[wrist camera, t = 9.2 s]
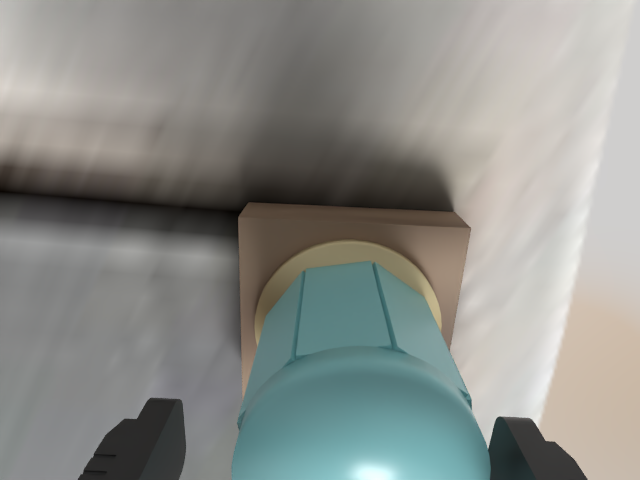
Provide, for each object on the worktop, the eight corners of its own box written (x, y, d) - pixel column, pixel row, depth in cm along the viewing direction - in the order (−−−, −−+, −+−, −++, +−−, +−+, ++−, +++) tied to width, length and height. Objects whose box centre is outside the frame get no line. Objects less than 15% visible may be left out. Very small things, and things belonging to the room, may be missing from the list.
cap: (235, 349, 16) (184, 496, 10) (333, 227, 14) (337, 323, 8) (360, 427, 17) (377, 597, 11) (465, 323, 15) (546, 463, 10)
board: (248, 202, 16) (206, 263, 11) (454, 211, 16) (521, 278, 11) (250, 373, 19) (218, 493, 14) (427, 381, 19) (469, 505, 13)
